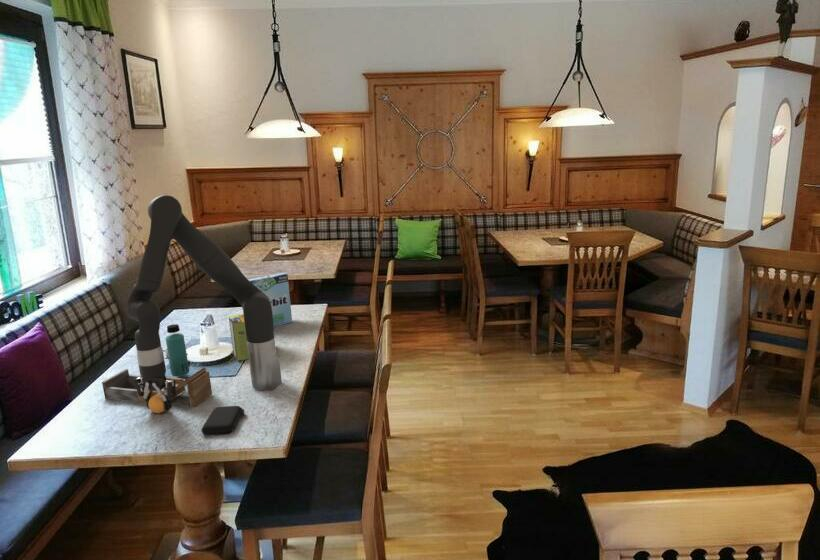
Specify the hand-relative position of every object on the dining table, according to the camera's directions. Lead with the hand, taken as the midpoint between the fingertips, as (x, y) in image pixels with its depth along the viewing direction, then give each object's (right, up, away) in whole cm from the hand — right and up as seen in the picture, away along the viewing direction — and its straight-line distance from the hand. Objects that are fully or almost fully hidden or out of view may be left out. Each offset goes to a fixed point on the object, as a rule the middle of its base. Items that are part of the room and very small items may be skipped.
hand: (159, 408), depth 186 cm
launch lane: (-5, +2, +12) cm, 13 cm away
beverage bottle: (-4, +6, +27) cm, 27 cm away
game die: (-11, +9, +41) cm, 43 cm away
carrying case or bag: (+24, -3, -9) cm, 26 cm away
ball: (0, +2, -1) cm, 2 cm away
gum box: (+17, +20, +78) cm, 82 cm away
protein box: (+18, +12, +46) cm, 51 cm away
